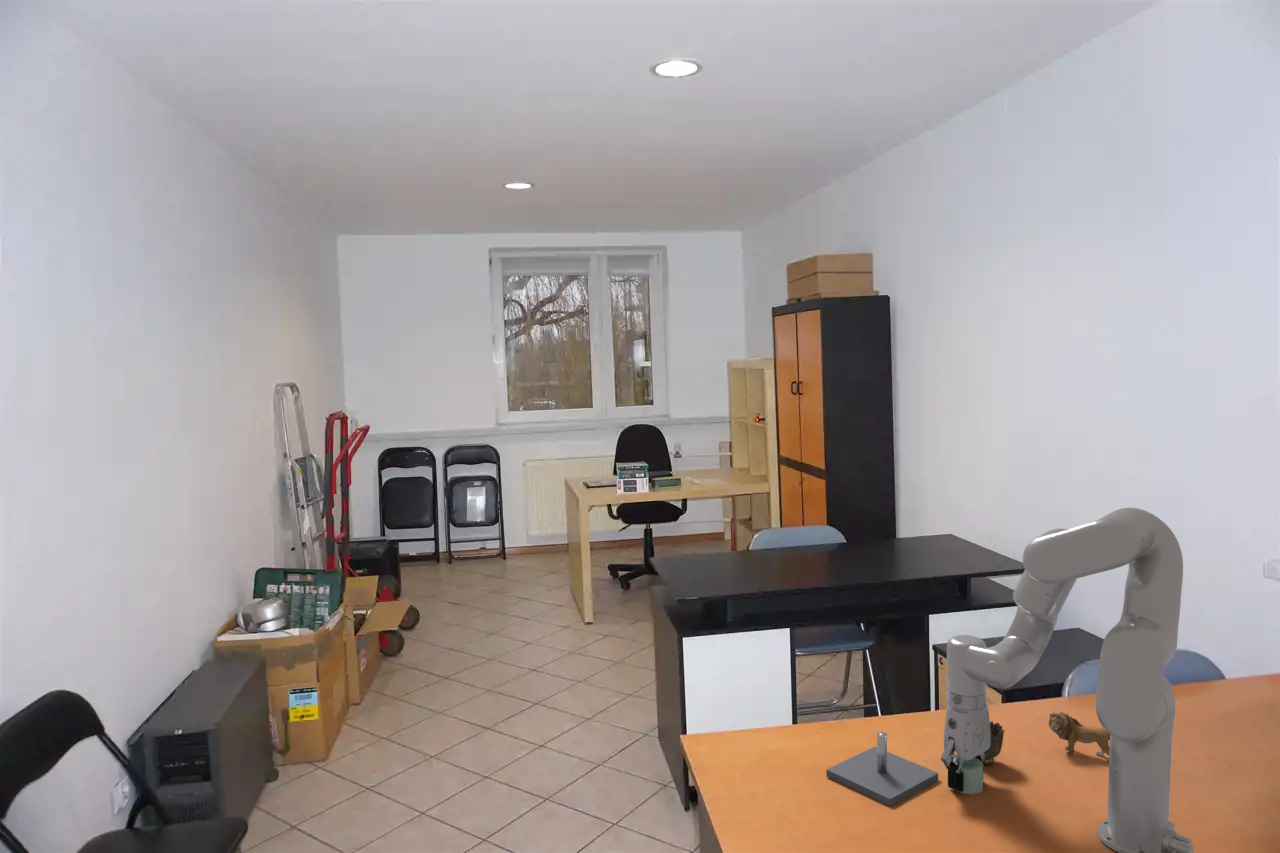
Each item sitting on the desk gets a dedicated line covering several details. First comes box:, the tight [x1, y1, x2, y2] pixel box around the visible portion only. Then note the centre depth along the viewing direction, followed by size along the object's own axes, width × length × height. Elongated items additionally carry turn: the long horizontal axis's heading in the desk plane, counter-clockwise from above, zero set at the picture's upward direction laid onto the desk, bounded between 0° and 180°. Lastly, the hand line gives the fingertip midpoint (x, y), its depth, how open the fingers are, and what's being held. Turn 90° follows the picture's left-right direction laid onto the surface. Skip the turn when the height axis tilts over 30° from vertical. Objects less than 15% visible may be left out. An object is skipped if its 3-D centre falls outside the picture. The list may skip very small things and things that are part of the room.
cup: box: [983, 720, 1005, 766], centre depth 192 cm, size 8×7×8 cm
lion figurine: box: [1047, 710, 1110, 764], centre depth 193 cm, size 15×5×9 cm, turn 65°
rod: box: [876, 731, 888, 774], centre depth 186 cm, size 2×2×8 cm
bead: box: [952, 757, 984, 795], centre depth 182 cm, size 6×6×5 cm
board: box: [825, 746, 939, 807], centre depth 186 cm, size 16×16×2 cm
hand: (965, 782), depth 182 cm, fingers closed on bead, 6 cm apart
